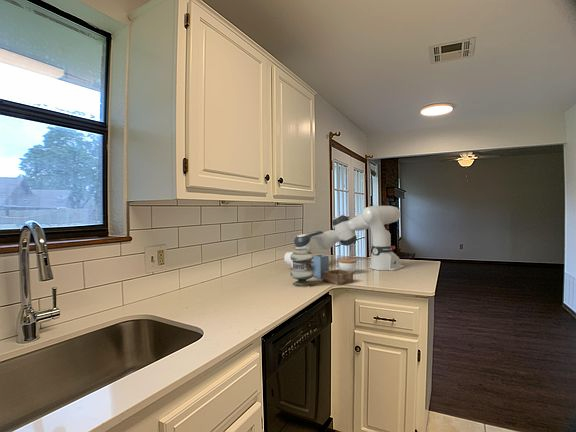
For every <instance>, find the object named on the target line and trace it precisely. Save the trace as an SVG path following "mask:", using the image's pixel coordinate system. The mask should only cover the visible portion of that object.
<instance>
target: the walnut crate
mask: <svg viewBox="0 0 576 432" xmlns="http://www.w3.org/2000/svg"><path fill="white" fill-rule="evenodd" d="M322 282H324V283H328V284H332V285H336V286H341V285H345V284H346V285H347V284H350V283H353V282H354V272H349V271H344V270H340V269H339V268H336V269H331V270H330V269H329V271H325V272H323V279H322Z"/></svg>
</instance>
